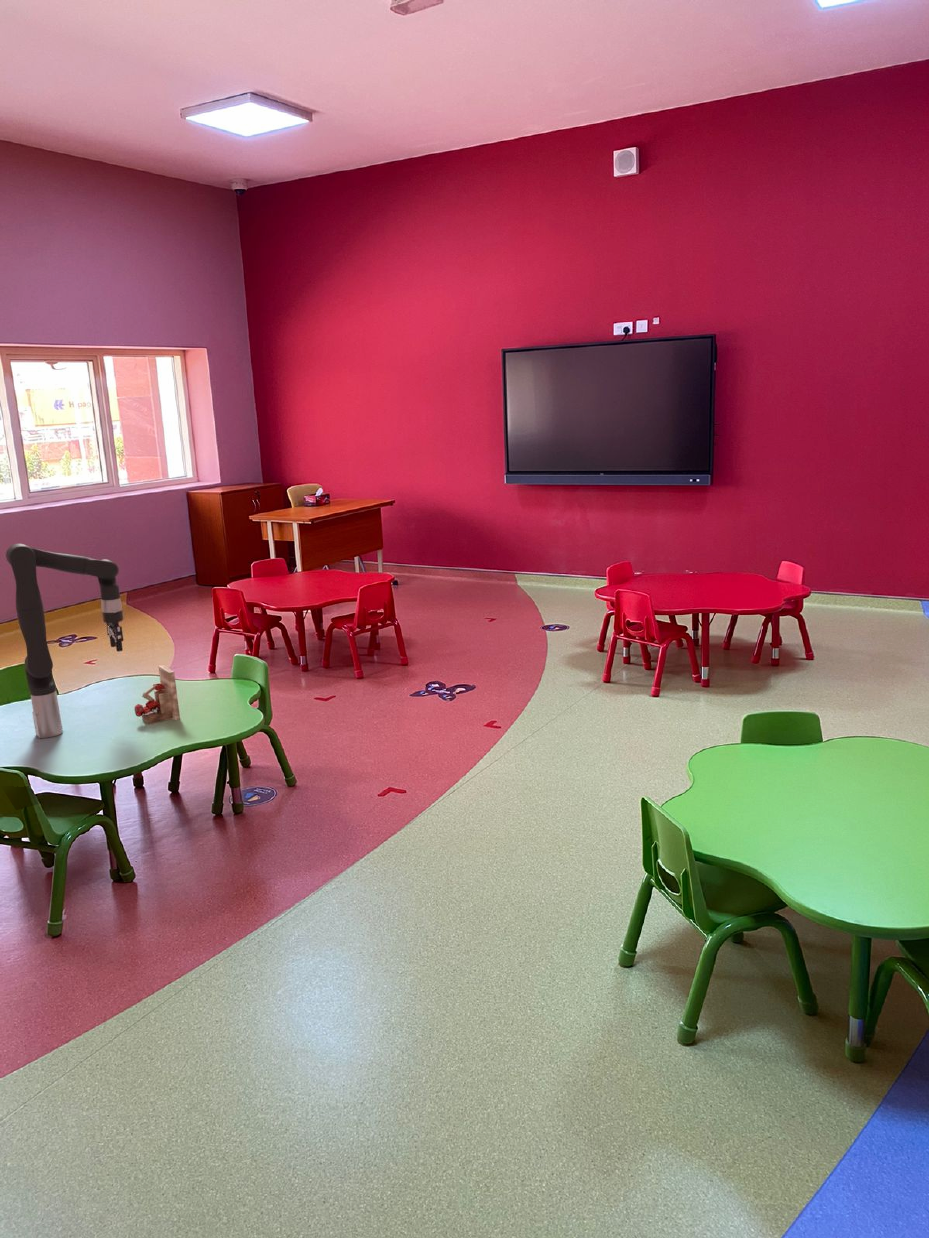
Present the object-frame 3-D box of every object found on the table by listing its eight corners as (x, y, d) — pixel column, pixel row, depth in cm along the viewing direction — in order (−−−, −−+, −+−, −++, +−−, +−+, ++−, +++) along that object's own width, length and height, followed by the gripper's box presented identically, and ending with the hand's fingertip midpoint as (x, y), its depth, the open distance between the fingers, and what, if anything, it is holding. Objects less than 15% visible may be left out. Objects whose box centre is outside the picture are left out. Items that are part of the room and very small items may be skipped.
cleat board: (150, 726, 364) (144, 678, 359) (140, 717, 374) (133, 671, 369) (180, 719, 370) (174, 671, 366) (169, 710, 381) (163, 664, 376)
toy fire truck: (134, 716, 366) (128, 694, 363) (165, 703, 376) (159, 681, 373) (139, 718, 364) (133, 695, 361) (169, 704, 373) (163, 683, 370)
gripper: (97, 608, 369) (102, 646, 373) (107, 614, 358) (111, 654, 361) (116, 605, 373) (121, 643, 377) (126, 611, 362) (131, 650, 366)
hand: (116, 648), depth 369 cm, fingers open, 8 cm apart
